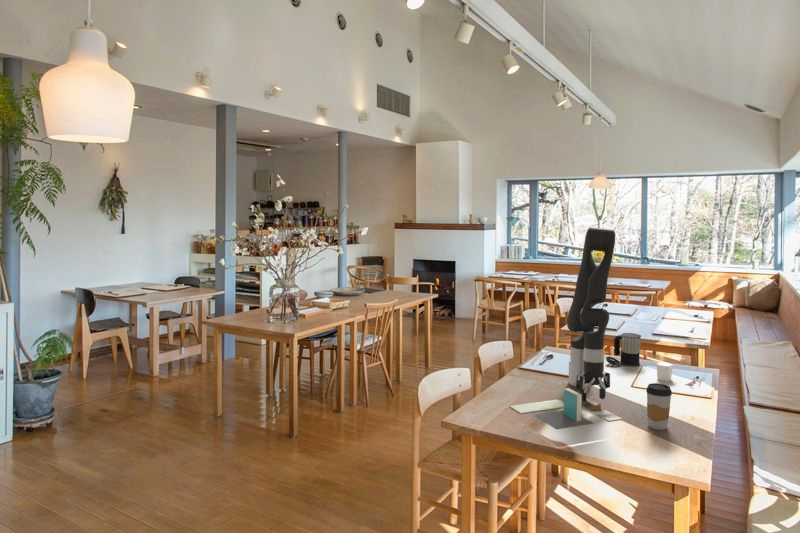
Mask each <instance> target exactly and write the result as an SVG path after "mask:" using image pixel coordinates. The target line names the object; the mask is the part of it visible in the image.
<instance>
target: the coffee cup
mask: <svg viewBox="0 0 800 533" xmlns="http://www.w3.org/2000/svg"><path fill="white" fill-rule="evenodd" d="M671 389H672V388H671V386H670V385H668V384H664V383H655V382H653V383H649V384H648V385H647V387H646V391H645V392H646V402H647V403H646V411H647V414H646V416H647V425H648V427H649V428H650V429H652V430H656V431H665V430H666V429H667V428H668V424H669V418H670V409H671V399H672V390H671Z"/></svg>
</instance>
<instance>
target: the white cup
mask: <svg viewBox="0 0 800 533" xmlns="http://www.w3.org/2000/svg"><path fill="white" fill-rule="evenodd" d="M673 368H674V364H672V363H670V362H664V361H659V362H656V378H657V380H659V379H660V381H664V380H665V381H667V382H669V381H672V375H673ZM665 381H664V382H665Z"/></svg>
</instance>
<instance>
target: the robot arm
mask: <svg viewBox="0 0 800 533" xmlns="http://www.w3.org/2000/svg"><path fill="white" fill-rule="evenodd" d="M585 233H586V234H585V236H584V237H585V238H584V243H583V248H582V249H583V250H582V258H581V263H580V266H579V270H578V275H577V278H576V284H575V289H574V293H573V294H574V295H573V299H572V302H571V305H570V309H569V311H568V316H567V320H566V323H567V324H566V326H567V329H568V331H570V332H572V333H573V332H574V333H581V335H579V336H577V337H574V338H572V339H571V340H570V354H569V356H570V358H569V362H568V383H569V385H570V386H572V387H575V390H577V392H580V394H581V395H582V401H583V402H586V397H588V396H587V394H588V393H587V392H588V390H589V389H590V388H591V387H594V386H598V387H599V394H598V395H599V396H598V397H599V399H601V400H605V398H606V390H607V389H610V388H611V374H610V372H607V371H604V370H605V351H604V346H605V345H604V344H605V333H606V330H607V327H608V324H609V321H610V313H609V311H608V310H607V309H605V308H597V307H595V308H593V306H594V305H596V304H597V305H598V304H602V303H604V302H606V300H607V290H608V289H607V288H608V278H609V275H610V270H611V266H612V260H613V256H614V255H613V254H614V250H615V244H616V231H614V229H611V228H604V227H603V228H602V227H593V226H591V227H589V228H587V230H586V232H585ZM593 251H595V252H603V253H604V254H603V258H602V260H601V262H600V263H599V265H598V266H597V265H596V262H595V261H594V258H593V254H592V252H593ZM597 327H598V328H597ZM595 328H597V330H595ZM602 379H603V380H602Z"/></svg>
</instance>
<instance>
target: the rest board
mask: <svg viewBox="0 0 800 533" xmlns="http://www.w3.org/2000/svg"><path fill="white" fill-rule="evenodd" d="M509 408H510V409H512V410H514V411H516V412H517V413H519V414H520V415H523V414H530V413H536V412H538V413H539V412H544V411H549V410H558V409H564V401H562V400H560V399H552V400H544V401H536V402H530V403H529V402H528V403H522V404H514V405H510V406H509Z"/></svg>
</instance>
